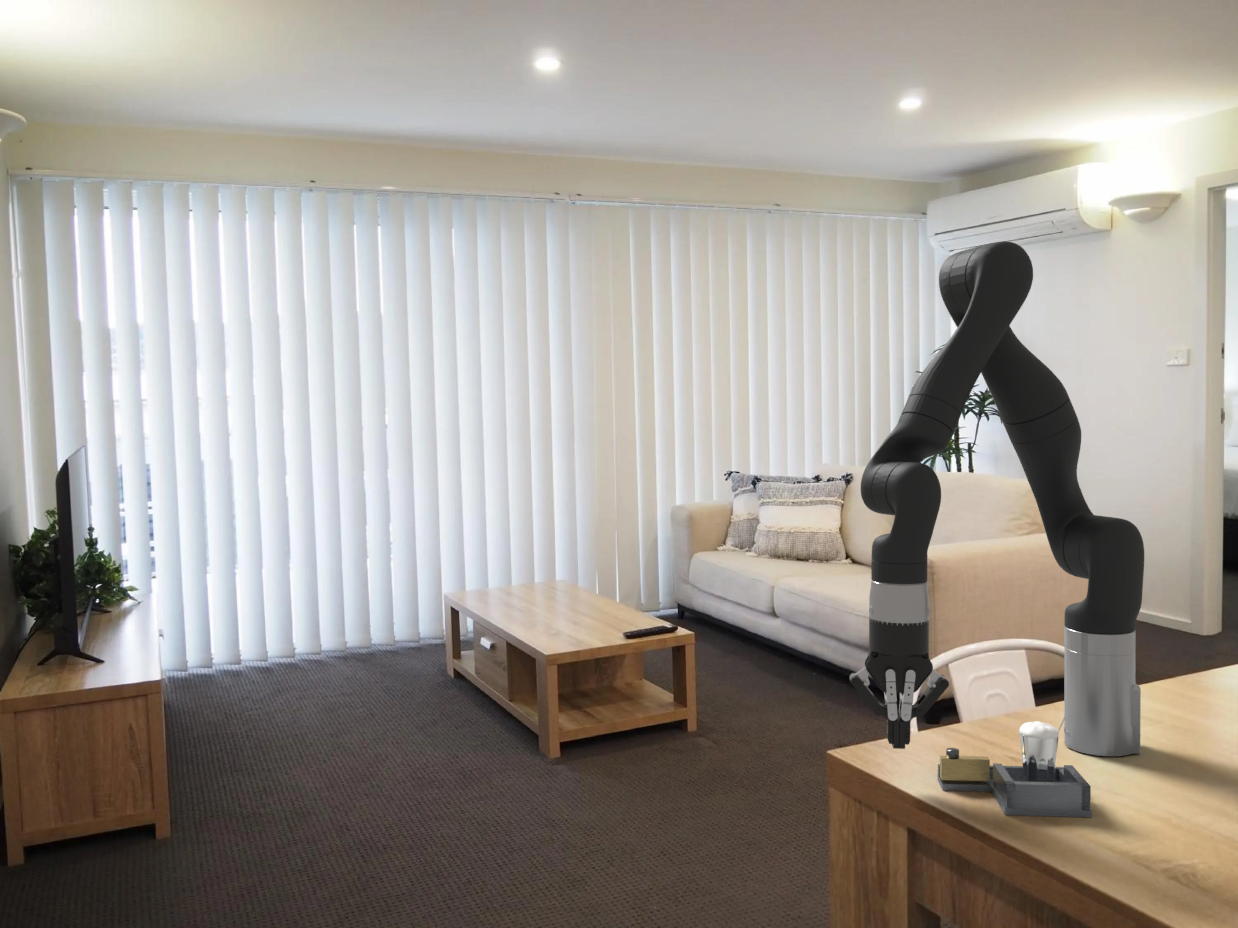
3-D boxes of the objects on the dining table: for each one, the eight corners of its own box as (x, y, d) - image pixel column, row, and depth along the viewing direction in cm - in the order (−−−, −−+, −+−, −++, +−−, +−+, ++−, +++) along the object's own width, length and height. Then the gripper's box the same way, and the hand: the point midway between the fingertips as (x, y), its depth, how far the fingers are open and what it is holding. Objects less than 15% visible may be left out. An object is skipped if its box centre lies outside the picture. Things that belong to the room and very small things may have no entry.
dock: (1064, 782, 136) (1064, 754, 135) (1092, 817, 124) (1092, 785, 124) (937, 779, 138) (937, 751, 138) (953, 813, 126) (953, 782, 126)
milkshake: (1069, 803, 127) (1070, 722, 126) (1023, 801, 128) (1023, 720, 127) (1060, 789, 131) (1060, 711, 131) (1016, 787, 132) (1015, 710, 132)
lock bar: (987, 777, 135) (987, 748, 135) (990, 781, 134) (990, 752, 133) (939, 775, 136) (939, 747, 136) (941, 780, 134) (941, 751, 134)
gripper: (946, 610, 138) (945, 739, 138) (844, 608, 139) (844, 736, 140) (957, 621, 130) (955, 758, 131) (849, 619, 132) (848, 754, 133)
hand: (898, 746), depth 136 cm, fingers closed
